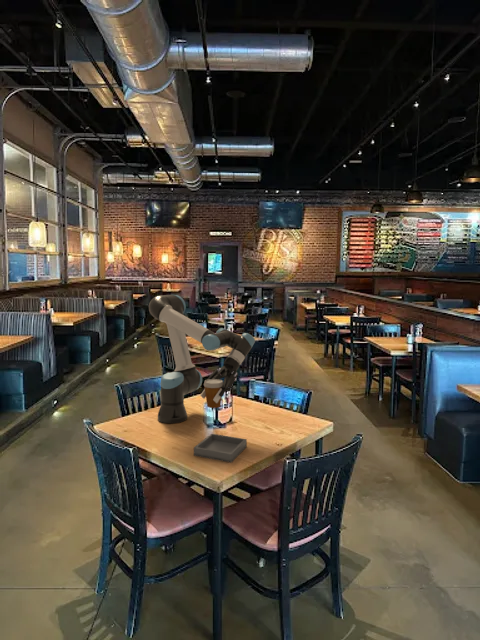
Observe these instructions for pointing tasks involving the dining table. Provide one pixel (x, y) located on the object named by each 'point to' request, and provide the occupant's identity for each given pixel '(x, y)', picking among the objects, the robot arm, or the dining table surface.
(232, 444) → the tray
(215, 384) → the disposable coffee cup
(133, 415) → the dining table surface
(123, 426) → the dining table surface
